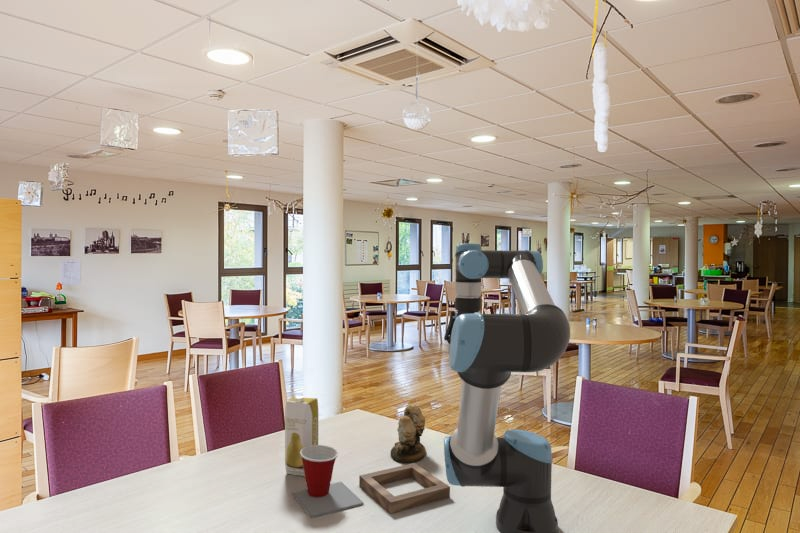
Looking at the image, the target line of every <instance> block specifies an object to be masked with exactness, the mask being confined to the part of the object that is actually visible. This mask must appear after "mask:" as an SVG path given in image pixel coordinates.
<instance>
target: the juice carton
mask: <svg viewBox="0 0 800 533" xmlns="http://www.w3.org/2000/svg"><path fill="white" fill-rule="evenodd" d="M284 414H285V415H284V419H285V420H284V466H285V473H286V474H288V475H293V476H294V475H295V476H301V477H305V473H304V467H303V462H302V457H301V455H300V451H301V449H303V448H304V447H307V446H311V445H319V402H318V398H317V397H305V396H304V395H296V396H293V397H292V398H290V399H287V400H286V401H285V408H284Z"/></svg>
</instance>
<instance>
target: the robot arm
mask: <svg viewBox="0 0 800 533" xmlns="http://www.w3.org/2000/svg"><path fill="white" fill-rule="evenodd" d="M482 248H483V247H482V245H481V244H480V243H457V244H456V246H455V253H454V257H455V281H454V295H455V296H456V297H455V298H454V309H455V311H454V310H453V311H450V317H449V318H450V319H449V322H448V325H447V328H446V331H445V334H444V339H443V340H444V341H446V342H447V343H448V360H449V361H448V366H449V368H451V370H452V371H454V372H456V373H457V376H458V377H459V378H460V380H461V385H460V395H459V396H460V397H459V408H458V419H457V427H456V428H455V429H454V431H453V432H452V434H451V435H449V436H445V438H444V440H443V450H444V452H443V454H444V456H443V457H444V465H445V466H444V467H445V474H446V475H445V476H446V481H447V482H448V484H449V485H451V486H459V487H482V488H483V487H484V488H485V487H486V488H487V487H491V488H492V487H493V488H494V487H495V488H496V487H497V488H499V487H500V488H503V493H502V497H501V500H500V503H499V507H498V509H497V510H496V514H495V526H496V528H497V530H498V531H499V532H500V533H558V532H559V521H558V518H557V516H556V512H555V507H554V505H553V501H552V471H553V470H552V468H553V466H552V464H553V453H552V445H551V443H550V442H549V440H548V439H547V438H545V437H544V436H542V435H540V434H538V433H535V432H532V431H528V430H524V429H508V430H506V431H504V434H503V436H502V437H497V436H496V434H495V431H496V424H497V416H498V411H499V405H500V399H501V397H500V396H501V392H502V386H504V385H505V384H506V383H507V382H508V381H509V380H510V378H511V376H512V375H511V374H512V373H535V372H536V373H537V372H540V371H544V370H546V369H548V368H550V367H552V366H553V365H554V364H556V363H558V361H559V360H560V359H561V357H562V356H563V355H564V354H565V352H566V350H567V348H568V346H569V343H570V339H571V327H570V326H571V325H570V322H569V320H568V318H567V315H566V314H565V312H564V310H562V308H560V307H559V306H557V305H556V304H555V302H554V300H553V299H552V296H551V295H550V292H549V290H548V288H547V286H546V284H545V282H544V280H543V278H542V275H543V270H544V260H543V256H542V253H541V252H540V251H537V250H528V249H525V250H495V249H494V250H493V249H490V250H487V249H486V250H485V249H484V250H483V249H482ZM482 279H509V281H510V284H511V287H512V290H513V294H514V296H515V299H516V302H517V305H518V307H519V311H520V313H481V312H479V311H481V310H482V298H481V296H482Z"/></svg>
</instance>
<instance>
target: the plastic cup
mask: <svg viewBox="0 0 800 533" xmlns="http://www.w3.org/2000/svg"><path fill="white" fill-rule="evenodd" d="M300 455H301V457H302V462H303V467H304V473H305V476H304V479H305V483H306V490H307V491H308V494H309V495H310V496H312V497H323V496H326V495H327V494H328V492H329V488H330V484H331V482H332V478H333V471H334V466H335V462H336V459H337V458H338V455H339V451H338V449H336V448H334V447H332V446H331V445H322V444H318V445H311V446H307V447H304V448H303V449H301V451H300Z"/></svg>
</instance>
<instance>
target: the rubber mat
mask: <svg viewBox="0 0 800 533" xmlns="http://www.w3.org/2000/svg"><path fill="white" fill-rule="evenodd" d="M291 494H292V496H293V497H294V498H295V500H296V501H297V502H298V504H299V505H300V506H301V507H302V508H303V509H304V511H305V512H306V514H308V516H309V517H310V518H316V517H320V516H324V515H328V514H332V513H335V512H336V513H337V512H339V511H343V510H347V509H352V508H354V507H355V508H356V507H360V506H363V505H365V504H364V503H365V502H363V501H362V500H361V498H359V497H358V496H357V495H356V493H355V492H353V491H352V490H351V489H350V488H349V487H348V486H347V485H345V483H343V482H342V481H338V482H334V483H333V482H332V483H330V488H329V492H328V494H327V495H326V496H323V497H312V496H310V495H309V494H308V491H307V489H304V490H303V489H302V490H298V491H293V492H292V493H291Z"/></svg>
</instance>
